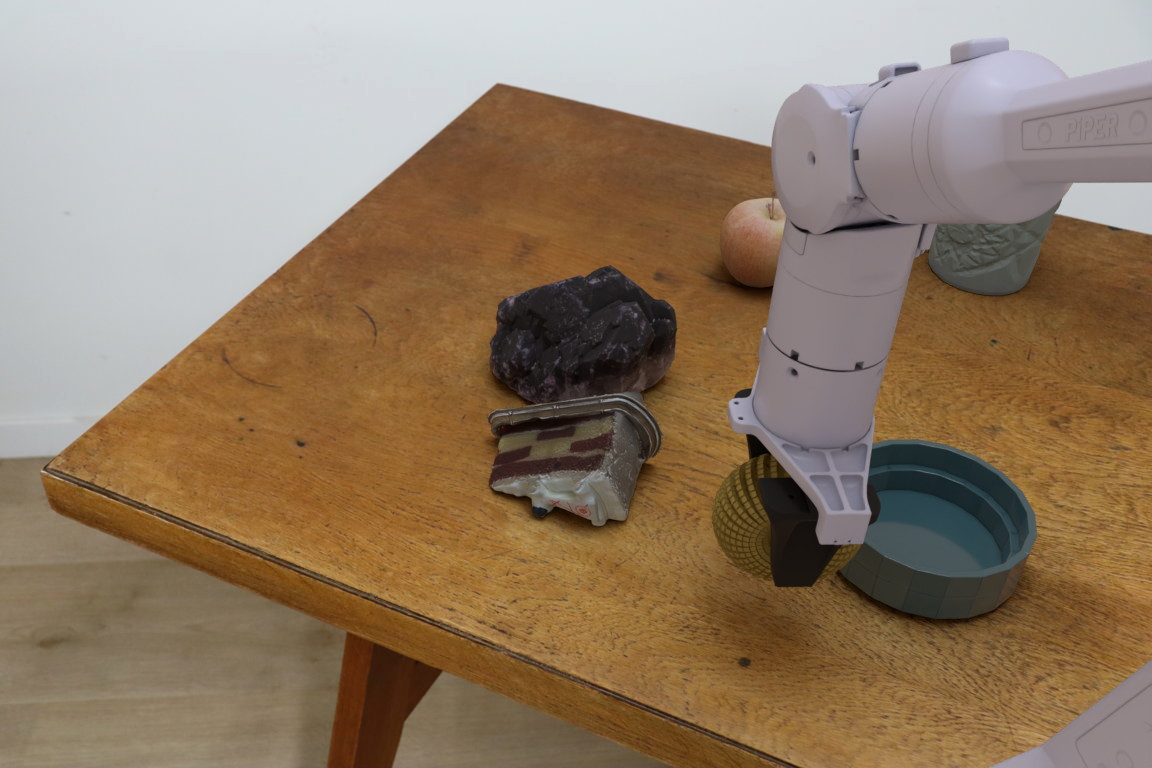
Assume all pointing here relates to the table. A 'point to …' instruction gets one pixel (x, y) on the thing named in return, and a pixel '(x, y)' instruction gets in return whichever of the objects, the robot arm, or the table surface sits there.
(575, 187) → the table surface
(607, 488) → the chocolate cake
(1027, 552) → the bowl
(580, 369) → the crystal cluster
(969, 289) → the green vase
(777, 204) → the fruit
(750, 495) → the sculpture
